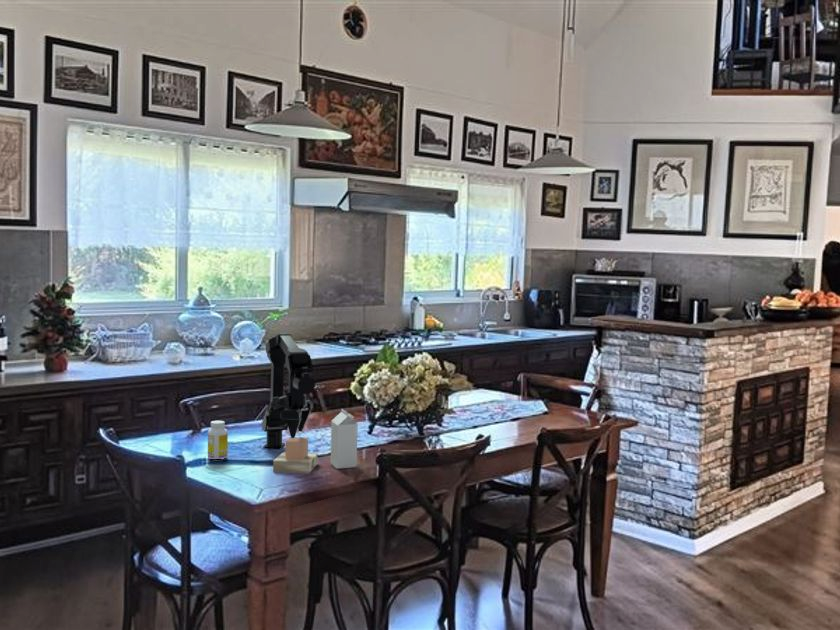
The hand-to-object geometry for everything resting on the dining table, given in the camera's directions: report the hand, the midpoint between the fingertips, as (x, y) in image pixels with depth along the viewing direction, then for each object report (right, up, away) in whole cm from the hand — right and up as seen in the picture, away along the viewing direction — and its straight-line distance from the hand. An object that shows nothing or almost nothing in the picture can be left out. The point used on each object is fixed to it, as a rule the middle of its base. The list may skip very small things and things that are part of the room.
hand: (296, 434), depth 273 cm
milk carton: (+15, -12, +5) cm, 20 cm away
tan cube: (0, -8, +1) cm, 8 cm away
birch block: (0, -12, +1) cm, 12 cm away
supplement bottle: (-29, -10, +9) cm, 31 cm away
